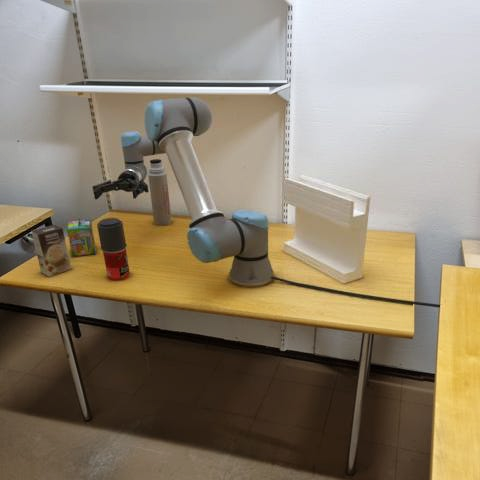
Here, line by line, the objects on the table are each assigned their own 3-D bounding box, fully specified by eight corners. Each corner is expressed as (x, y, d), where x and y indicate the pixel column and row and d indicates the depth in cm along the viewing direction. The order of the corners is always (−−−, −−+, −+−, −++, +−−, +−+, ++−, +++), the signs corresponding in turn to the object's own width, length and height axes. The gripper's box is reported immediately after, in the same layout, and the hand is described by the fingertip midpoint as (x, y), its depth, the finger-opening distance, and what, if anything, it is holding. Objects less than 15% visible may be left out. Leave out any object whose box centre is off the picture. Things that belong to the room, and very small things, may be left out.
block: (361, 277, 164) (370, 196, 149) (343, 283, 160) (350, 201, 146) (299, 246, 190) (302, 174, 176) (283, 250, 186) (284, 178, 172)
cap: (131, 247, 165) (127, 220, 160) (108, 254, 160) (104, 227, 155) (118, 240, 170) (114, 215, 166) (96, 247, 166) (91, 221, 161)
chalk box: (72, 248, 195) (65, 213, 187) (96, 246, 197) (89, 211, 189) (71, 257, 187) (63, 220, 180) (96, 254, 189) (88, 218, 182)
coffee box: (48, 277, 172) (37, 234, 164) (40, 272, 176) (29, 230, 168) (72, 269, 177) (62, 227, 169) (64, 264, 181) (54, 223, 173)
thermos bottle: (175, 221, 221) (168, 158, 207) (164, 226, 215) (156, 162, 201) (161, 219, 224) (154, 157, 210) (150, 224, 219) (142, 160, 205)
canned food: (125, 281, 167) (120, 252, 161) (103, 280, 168) (98, 250, 163) (133, 272, 173) (129, 243, 168) (113, 271, 175) (108, 242, 169)
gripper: (162, 189, 185) (151, 205, 167) (99, 190, 187) (81, 206, 168) (160, 169, 181) (148, 183, 163) (96, 170, 183) (77, 185, 165)
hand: (114, 195), depth 166 cm, fingers open, 13 cm apart
